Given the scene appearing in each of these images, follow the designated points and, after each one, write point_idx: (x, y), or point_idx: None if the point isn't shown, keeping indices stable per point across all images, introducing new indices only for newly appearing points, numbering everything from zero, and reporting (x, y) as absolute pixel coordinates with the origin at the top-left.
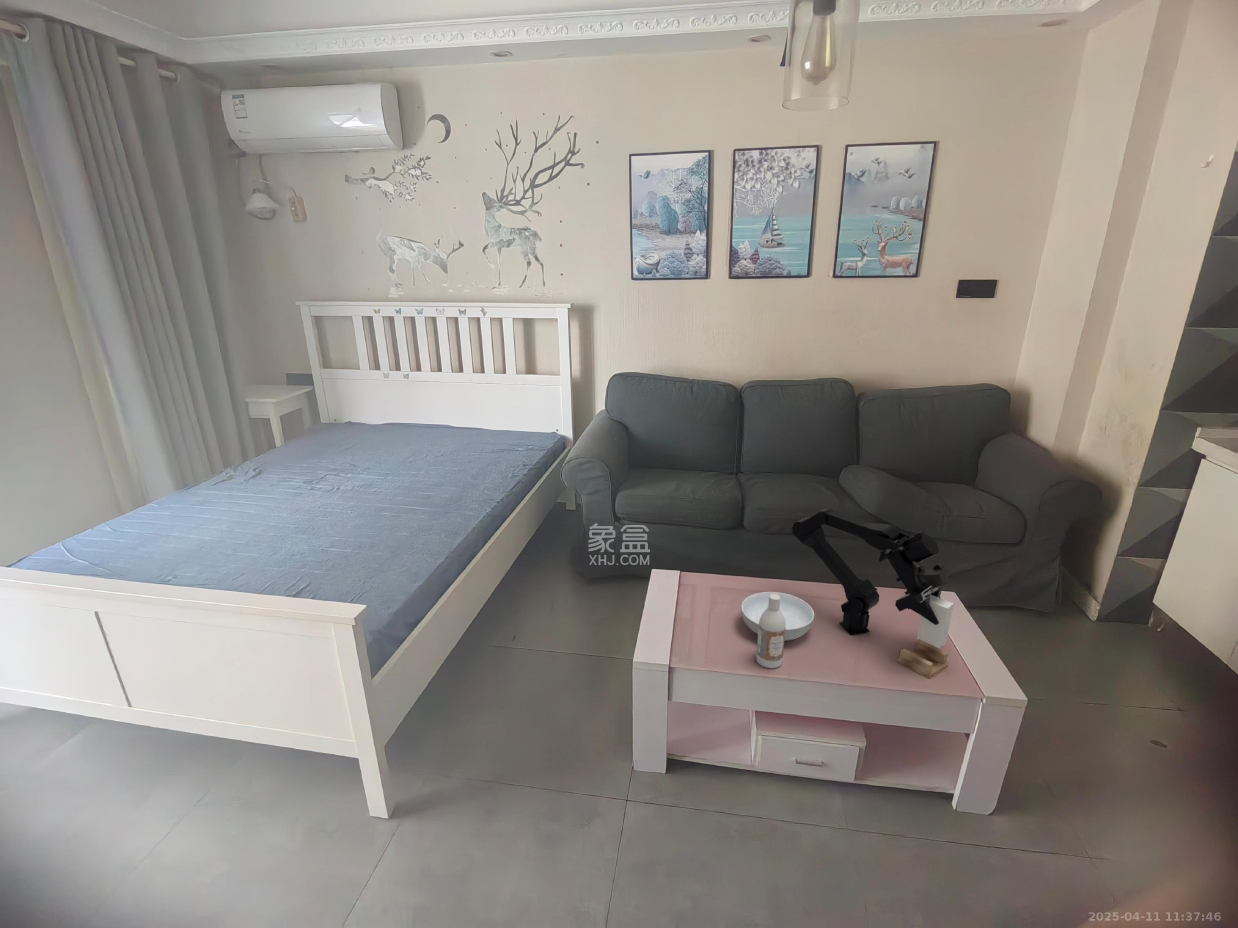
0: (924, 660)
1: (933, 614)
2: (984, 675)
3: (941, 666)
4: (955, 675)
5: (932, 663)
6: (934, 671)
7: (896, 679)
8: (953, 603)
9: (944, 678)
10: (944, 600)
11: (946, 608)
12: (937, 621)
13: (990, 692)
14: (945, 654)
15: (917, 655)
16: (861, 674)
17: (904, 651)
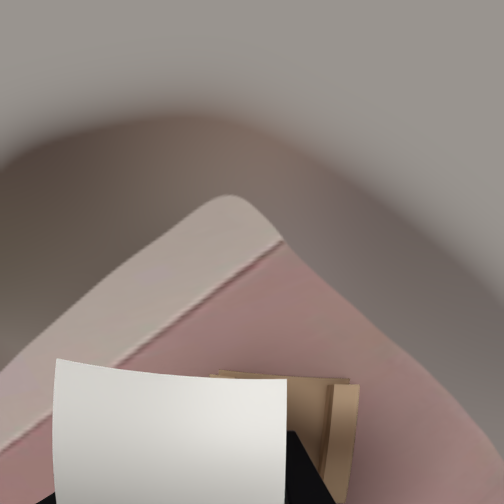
0: (342, 414)
1: (313, 495)
2: (186, 268)
3: (256, 378)
4: (256, 330)
5: (337, 384)
6: (308, 381)
7: (430, 435)
8: (57, 363)
9: (304, 347)
10: (66, 482)
11: (286, 397)
12: (296, 441)
13: (262, 227)
14: (227, 377)
15: (328, 449)
16: (472, 494)
17: (340, 492)
